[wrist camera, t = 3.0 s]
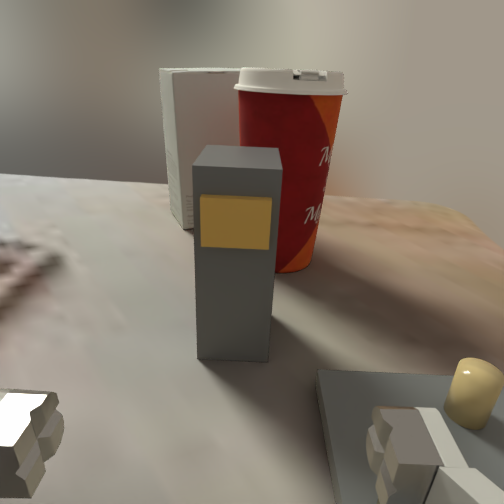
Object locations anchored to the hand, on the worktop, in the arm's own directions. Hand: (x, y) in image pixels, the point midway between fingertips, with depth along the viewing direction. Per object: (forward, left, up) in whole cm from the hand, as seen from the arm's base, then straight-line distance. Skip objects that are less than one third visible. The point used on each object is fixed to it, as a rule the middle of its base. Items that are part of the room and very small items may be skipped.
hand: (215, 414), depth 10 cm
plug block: (0, +12, -7) cm, 14 cm away
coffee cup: (+3, +23, -7) cm, 24 cm away
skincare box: (-4, +32, -7) cm, 33 cm away
